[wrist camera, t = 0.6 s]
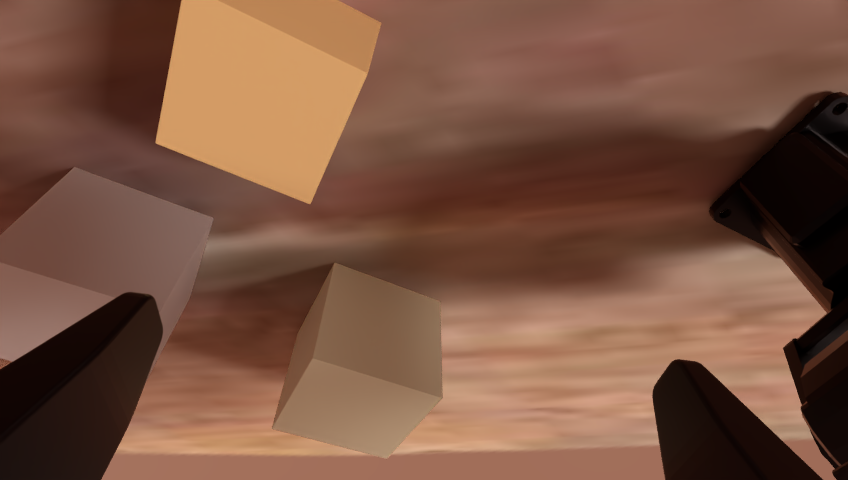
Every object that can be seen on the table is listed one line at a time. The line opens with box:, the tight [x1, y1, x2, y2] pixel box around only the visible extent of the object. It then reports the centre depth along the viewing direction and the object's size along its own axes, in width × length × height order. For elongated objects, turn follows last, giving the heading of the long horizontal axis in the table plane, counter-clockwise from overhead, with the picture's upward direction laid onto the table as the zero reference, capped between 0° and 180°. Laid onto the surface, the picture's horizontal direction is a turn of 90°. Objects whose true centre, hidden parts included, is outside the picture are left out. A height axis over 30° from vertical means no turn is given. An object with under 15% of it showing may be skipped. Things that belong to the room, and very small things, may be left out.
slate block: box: [0, 167, 214, 383], centre depth 22 cm, size 6×6×6 cm
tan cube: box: [272, 263, 442, 458], centre depth 25 cm, size 6×6×6 cm
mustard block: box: [156, 0, 381, 204], centre depth 17 cm, size 5×5×5 cm
